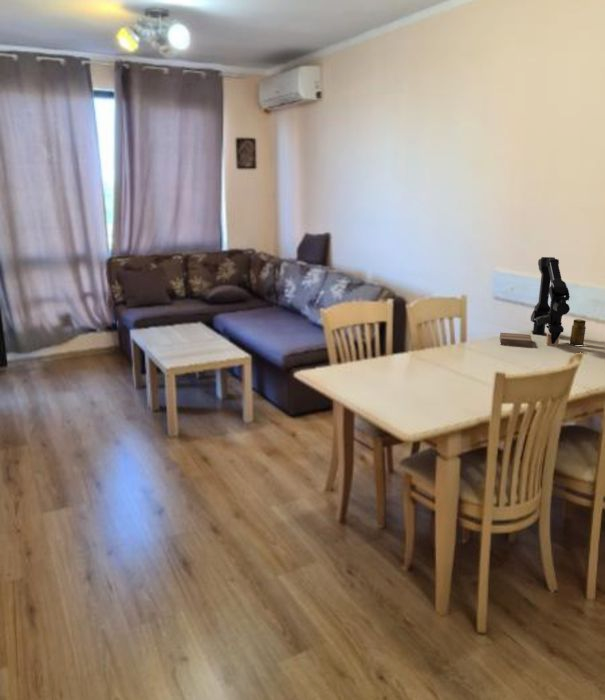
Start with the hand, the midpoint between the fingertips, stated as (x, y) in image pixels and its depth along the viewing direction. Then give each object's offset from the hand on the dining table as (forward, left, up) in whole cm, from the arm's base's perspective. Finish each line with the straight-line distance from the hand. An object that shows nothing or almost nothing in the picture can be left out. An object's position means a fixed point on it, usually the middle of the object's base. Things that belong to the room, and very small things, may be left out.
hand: (552, 342), depth 291 cm
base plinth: (+2, -17, -1) cm, 17 cm away
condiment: (-4, +12, -1) cm, 13 cm away
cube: (0, 0, -1) cm, 1 cm away
